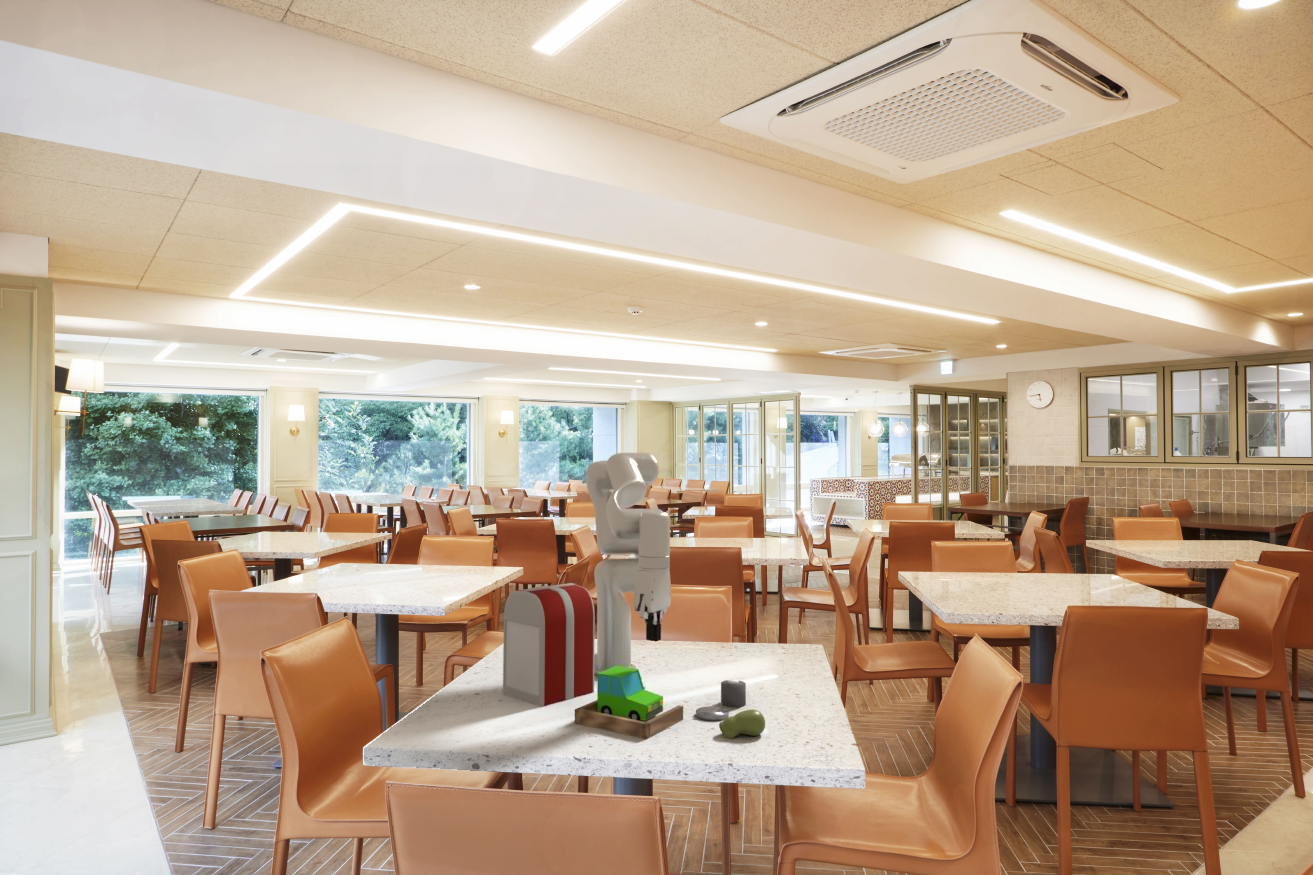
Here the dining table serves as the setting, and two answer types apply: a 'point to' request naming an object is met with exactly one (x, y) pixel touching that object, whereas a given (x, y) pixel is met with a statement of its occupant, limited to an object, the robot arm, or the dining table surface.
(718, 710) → the shallow metal dish
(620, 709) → the toy car
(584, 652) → the red striped mailbox
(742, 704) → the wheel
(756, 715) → the pear
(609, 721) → the bay
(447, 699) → the dining table surface
